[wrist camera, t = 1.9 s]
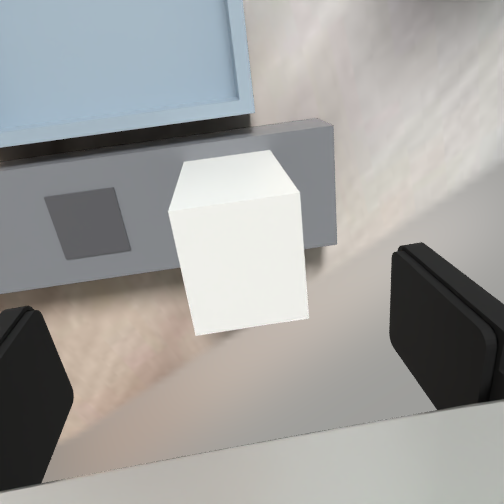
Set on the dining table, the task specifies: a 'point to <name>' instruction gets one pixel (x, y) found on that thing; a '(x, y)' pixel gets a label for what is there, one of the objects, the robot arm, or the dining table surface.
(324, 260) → the dining table surface
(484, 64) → the dining table surface
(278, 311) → the block
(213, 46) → the tray
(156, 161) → the strip
